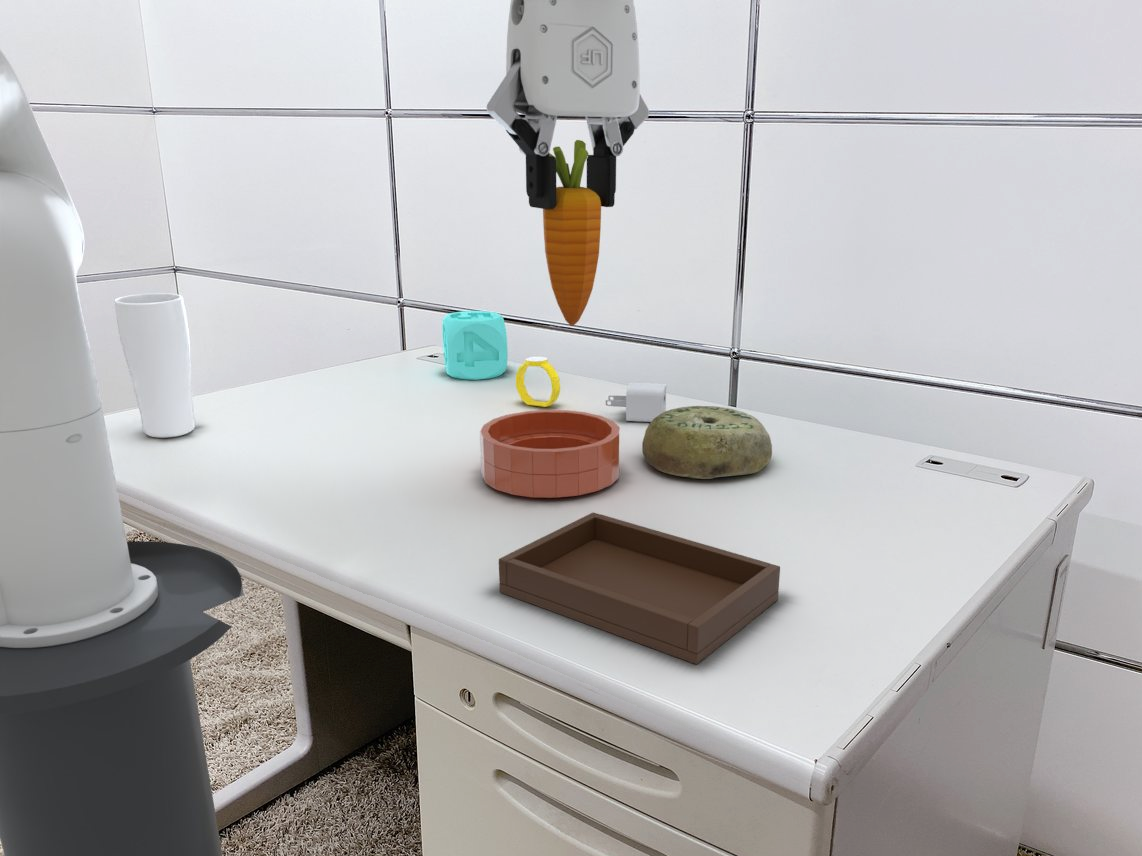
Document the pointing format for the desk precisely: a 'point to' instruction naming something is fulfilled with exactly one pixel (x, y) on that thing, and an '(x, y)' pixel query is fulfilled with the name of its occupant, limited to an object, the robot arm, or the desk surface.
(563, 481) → the bowl
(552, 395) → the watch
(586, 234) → the carrot
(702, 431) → the weight
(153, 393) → the drinking glass
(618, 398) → the usb wall charger
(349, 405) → the desk surface
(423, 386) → the desk surface
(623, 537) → the tray
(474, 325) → the decorative dice
